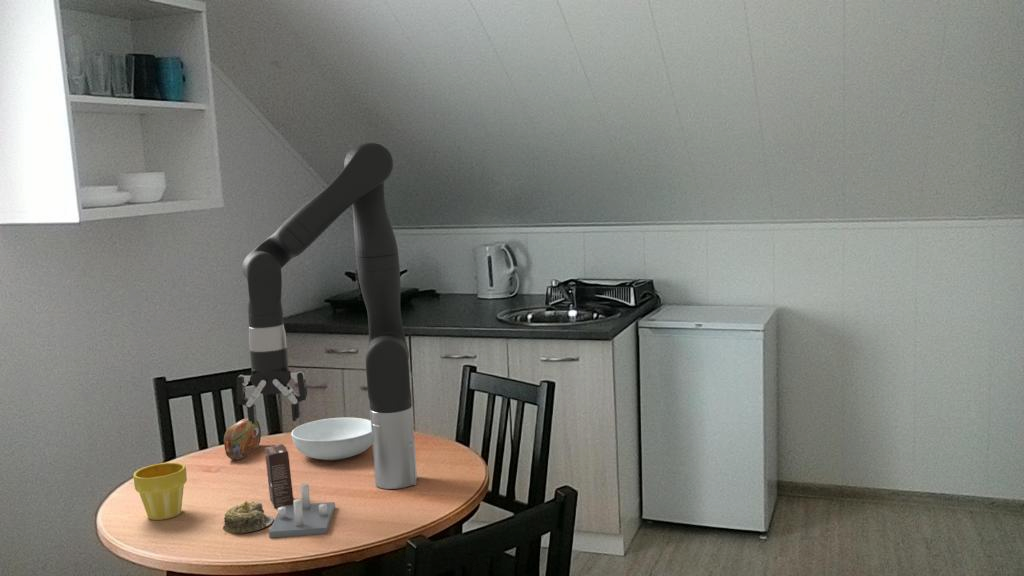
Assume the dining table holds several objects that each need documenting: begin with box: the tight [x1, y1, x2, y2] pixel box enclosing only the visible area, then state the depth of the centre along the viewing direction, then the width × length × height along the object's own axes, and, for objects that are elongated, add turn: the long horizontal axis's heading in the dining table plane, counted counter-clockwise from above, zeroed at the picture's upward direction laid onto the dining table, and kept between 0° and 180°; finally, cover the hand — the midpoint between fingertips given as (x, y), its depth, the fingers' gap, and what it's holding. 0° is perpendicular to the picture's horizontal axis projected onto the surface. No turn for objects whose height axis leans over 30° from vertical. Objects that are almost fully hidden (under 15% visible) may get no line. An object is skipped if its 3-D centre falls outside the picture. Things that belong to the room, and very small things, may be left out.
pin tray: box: [268, 483, 336, 538], centre depth 187 cm, size 11×14×6 cm
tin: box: [223, 417, 262, 460], centre depth 235 cm, size 15×3×8 cm, turn 168°
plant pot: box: [132, 461, 188, 521], centre depth 195 cm, size 10×10×10 cm
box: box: [264, 443, 294, 509], centre depth 198 cm, size 6×4×12 cm
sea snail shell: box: [222, 500, 274, 535], centre depth 187 cm, size 10×10×5 cm
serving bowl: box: [290, 417, 373, 461], centre depth 231 cm, size 21×21×7 cm
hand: (274, 421), depth 197 cm, fingers open, 8 cm apart
